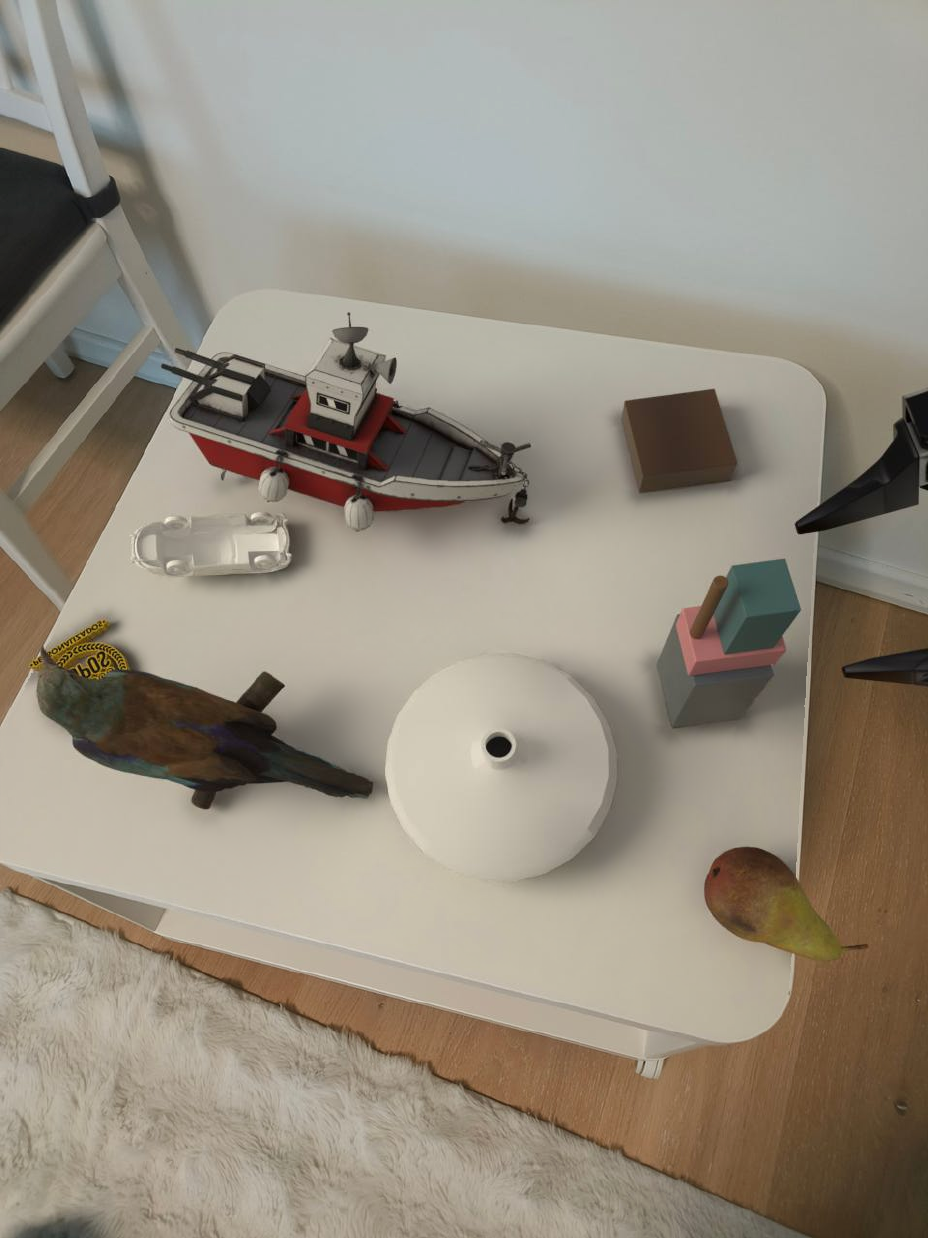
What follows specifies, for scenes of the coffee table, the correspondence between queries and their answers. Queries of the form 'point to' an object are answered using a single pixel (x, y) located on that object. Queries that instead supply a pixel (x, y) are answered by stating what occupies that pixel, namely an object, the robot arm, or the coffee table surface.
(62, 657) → the logo
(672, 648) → the grey rectangular block
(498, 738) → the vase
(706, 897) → the fruit
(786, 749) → the coffee table surface
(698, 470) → the walnut block
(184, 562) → the toy car
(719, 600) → the peg stacking toy
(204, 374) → the toy boat
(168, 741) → the bird figurine
